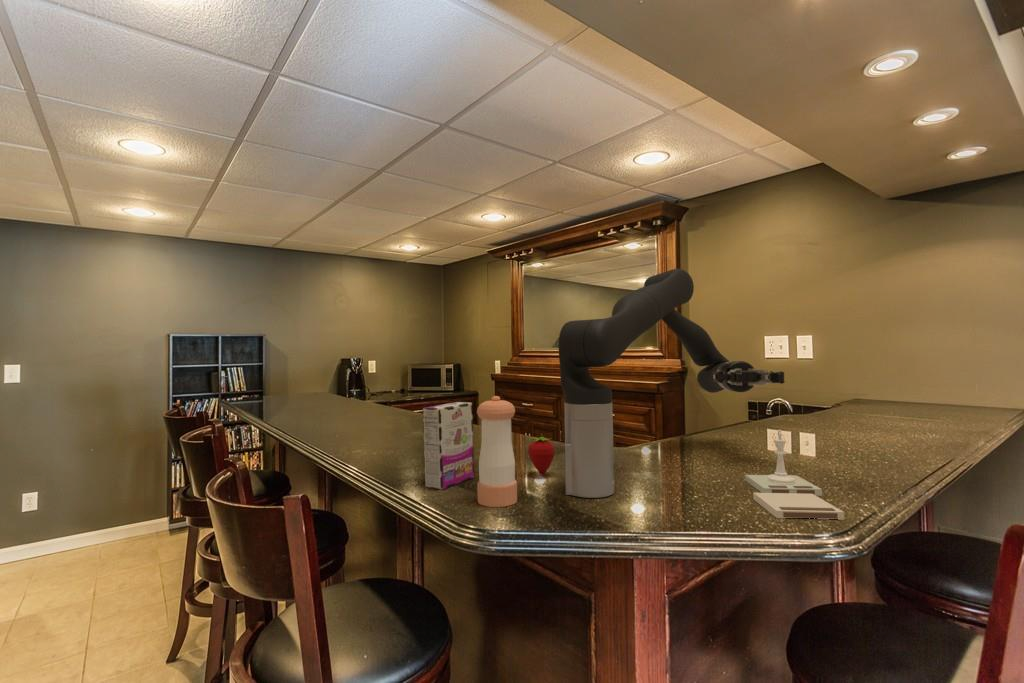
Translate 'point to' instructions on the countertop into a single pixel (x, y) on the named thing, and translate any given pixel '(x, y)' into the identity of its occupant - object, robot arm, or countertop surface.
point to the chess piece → (780, 465)
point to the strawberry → (541, 453)
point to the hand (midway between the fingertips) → (758, 377)
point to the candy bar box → (448, 444)
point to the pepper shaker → (496, 455)
